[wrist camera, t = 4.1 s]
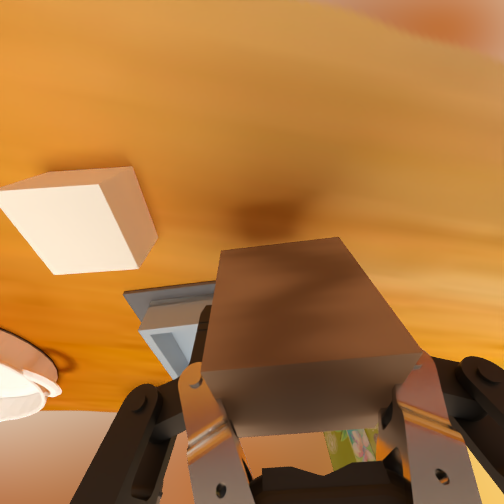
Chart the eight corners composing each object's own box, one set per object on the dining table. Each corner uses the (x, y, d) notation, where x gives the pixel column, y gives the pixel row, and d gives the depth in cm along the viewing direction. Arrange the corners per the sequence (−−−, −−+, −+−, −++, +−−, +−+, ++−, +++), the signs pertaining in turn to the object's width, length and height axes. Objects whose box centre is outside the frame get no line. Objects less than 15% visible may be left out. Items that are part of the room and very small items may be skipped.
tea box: (312, 399, 41) (343, 521, 29) (344, 376, 36) (397, 512, 24) (370, 407, 45) (418, 516, 33) (405, 387, 40) (477, 508, 28)
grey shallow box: (294, 271, 21) (304, 300, 18) (293, 353, 30) (300, 382, 27) (124, 291, 22) (104, 324, 18) (174, 366, 31) (166, 397, 28)
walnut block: (338, 236, 10) (423, 352, 5) (328, 313, 14) (374, 427, 9) (221, 250, 11) (200, 372, 6) (239, 322, 14) (236, 437, 9)
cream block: (133, 165, 15) (98, 184, 11) (158, 236, 18) (138, 268, 15) (49, 171, 15) (-13, 191, 11) (91, 241, 18) (53, 274, 15)
